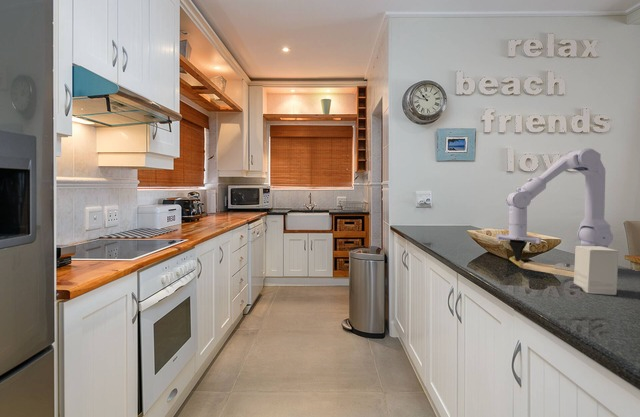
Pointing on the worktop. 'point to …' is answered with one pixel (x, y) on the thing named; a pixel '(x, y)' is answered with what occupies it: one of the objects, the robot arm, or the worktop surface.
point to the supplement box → (596, 269)
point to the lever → (516, 261)
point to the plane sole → (546, 268)
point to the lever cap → (564, 266)
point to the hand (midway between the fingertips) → (517, 260)
